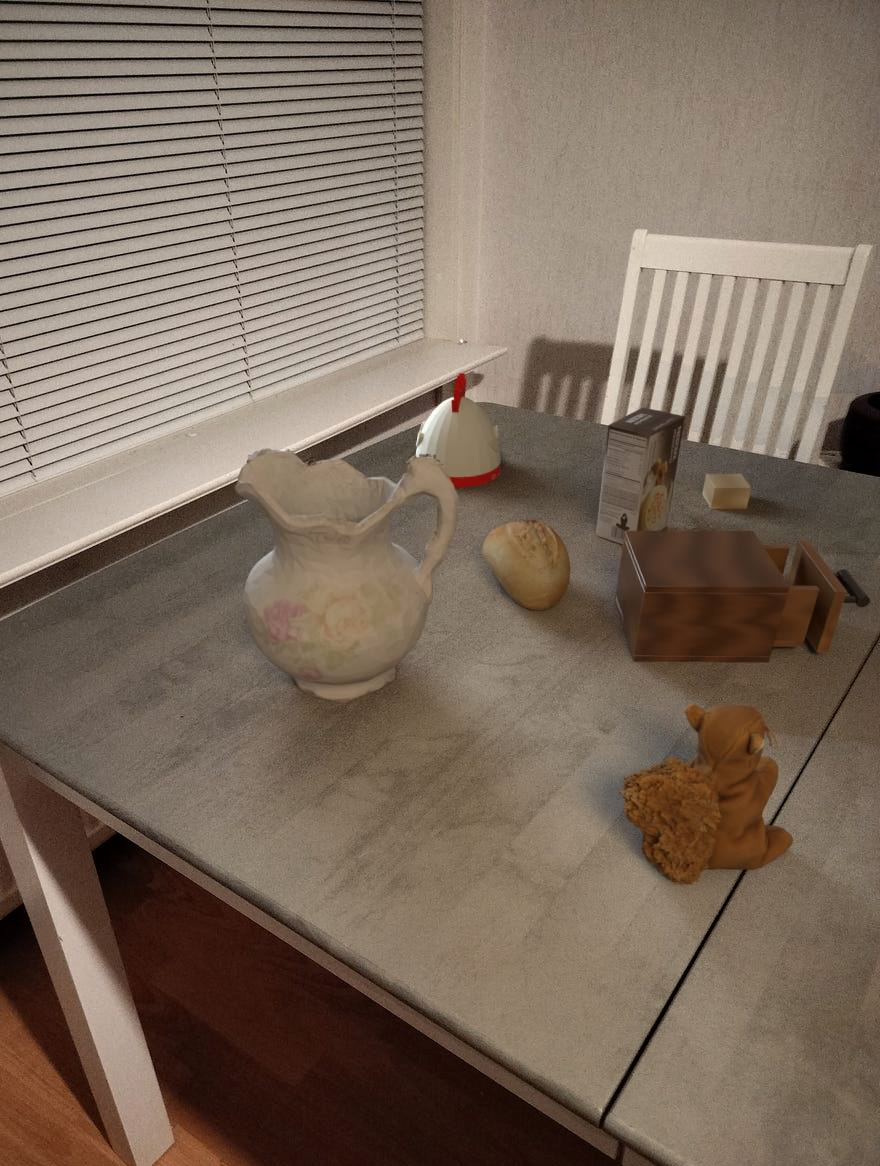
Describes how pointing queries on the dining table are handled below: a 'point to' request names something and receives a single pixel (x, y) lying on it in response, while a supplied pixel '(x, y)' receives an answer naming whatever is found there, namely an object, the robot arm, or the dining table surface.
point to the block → (726, 491)
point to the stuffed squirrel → (709, 799)
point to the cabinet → (699, 596)
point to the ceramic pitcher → (340, 569)
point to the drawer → (812, 597)
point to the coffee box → (639, 473)
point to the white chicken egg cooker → (462, 439)
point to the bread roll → (529, 562)
